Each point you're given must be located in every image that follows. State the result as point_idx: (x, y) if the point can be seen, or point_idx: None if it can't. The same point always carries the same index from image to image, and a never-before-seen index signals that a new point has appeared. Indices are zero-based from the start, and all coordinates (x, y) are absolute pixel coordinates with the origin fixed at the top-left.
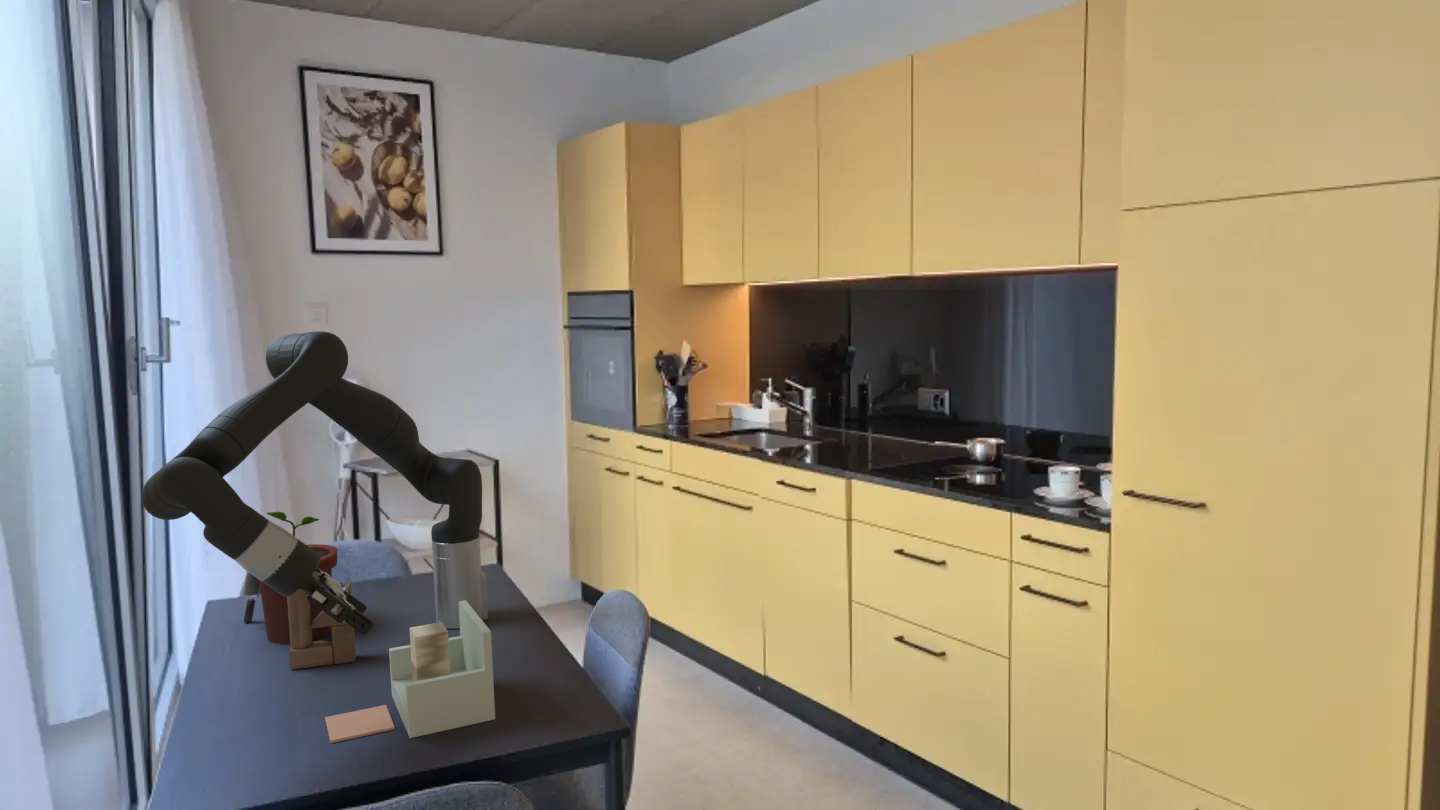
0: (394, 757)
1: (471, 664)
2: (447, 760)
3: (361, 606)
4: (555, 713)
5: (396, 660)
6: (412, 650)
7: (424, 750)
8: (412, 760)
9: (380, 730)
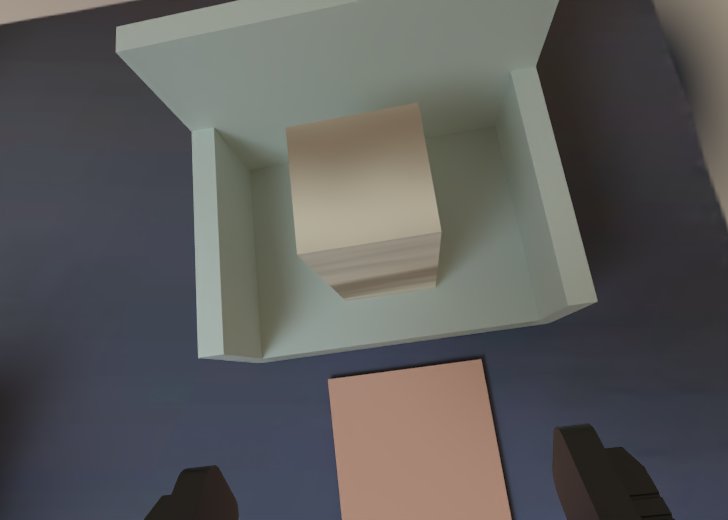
0: (652, 362)
1: None
2: (704, 239)
3: (207, 504)
4: None
5: (239, 337)
6: (359, 268)
7: (631, 290)
8: (682, 319)
9: (487, 395)
